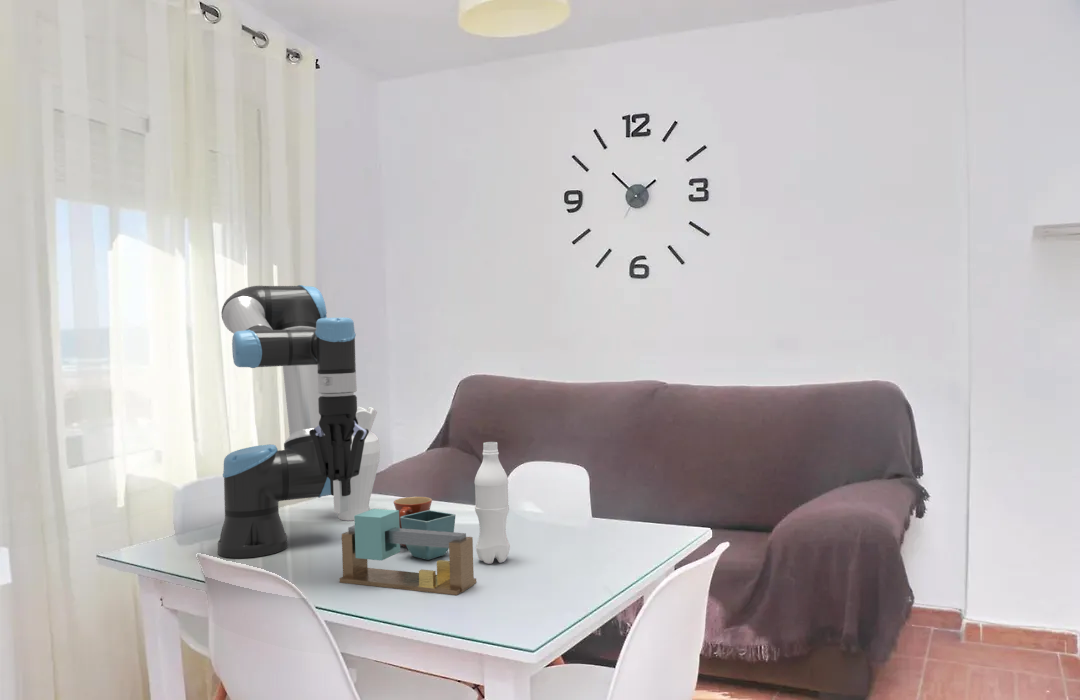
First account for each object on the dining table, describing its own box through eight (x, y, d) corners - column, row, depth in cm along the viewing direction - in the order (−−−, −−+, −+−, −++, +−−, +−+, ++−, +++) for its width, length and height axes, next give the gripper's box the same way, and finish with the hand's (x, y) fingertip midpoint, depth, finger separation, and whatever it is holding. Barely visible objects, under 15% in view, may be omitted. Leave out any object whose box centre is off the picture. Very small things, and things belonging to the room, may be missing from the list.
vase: (324, 514, 225) (320, 408, 224) (378, 509, 229) (375, 405, 228) (327, 526, 211) (323, 412, 210) (385, 520, 215) (381, 409, 214)
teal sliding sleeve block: (355, 558, 161) (354, 515, 161) (374, 549, 167) (373, 508, 167) (381, 560, 159) (380, 517, 158) (400, 551, 165) (399, 510, 165)
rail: (338, 582, 162) (336, 530, 161) (362, 571, 169) (360, 521, 169) (457, 595, 152) (456, 540, 152) (477, 582, 159) (475, 530, 159)
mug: (403, 539, 194) (401, 496, 194) (438, 540, 193) (437, 496, 193) (383, 553, 183) (382, 507, 183) (420, 554, 181) (419, 507, 181)
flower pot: (430, 549, 185) (428, 509, 185) (457, 555, 180) (456, 514, 180) (400, 557, 179) (398, 516, 178) (428, 564, 173) (426, 521, 173)
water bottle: (480, 566, 170) (476, 446, 169) (473, 557, 177) (470, 441, 176) (513, 563, 172) (510, 443, 171) (506, 554, 179) (503, 439, 178)
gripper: (298, 396, 164) (302, 514, 165) (353, 395, 159) (357, 517, 160) (322, 393, 171) (326, 506, 172) (375, 393, 166) (379, 509, 167)
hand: (341, 511), depth 166 cm, fingers closed
